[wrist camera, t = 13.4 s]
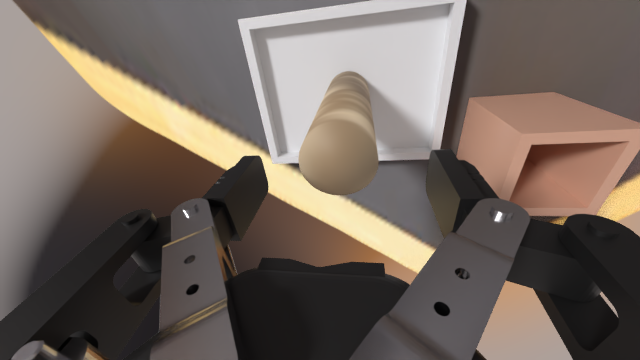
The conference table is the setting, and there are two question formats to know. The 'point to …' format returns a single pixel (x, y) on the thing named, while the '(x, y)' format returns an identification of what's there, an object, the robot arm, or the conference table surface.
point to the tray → (357, 70)
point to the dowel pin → (341, 139)
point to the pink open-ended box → (548, 151)
